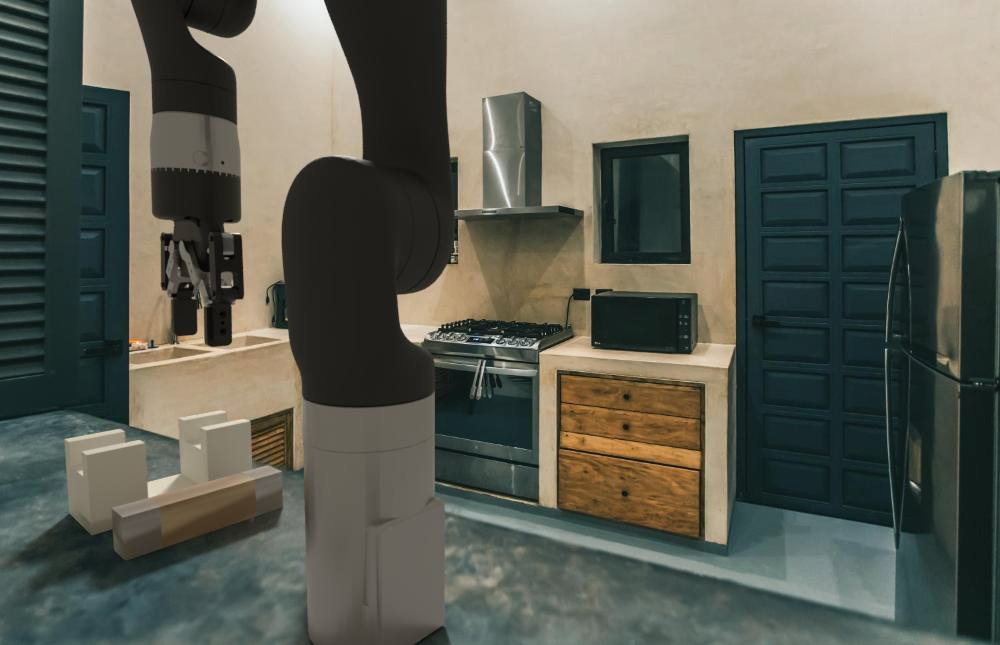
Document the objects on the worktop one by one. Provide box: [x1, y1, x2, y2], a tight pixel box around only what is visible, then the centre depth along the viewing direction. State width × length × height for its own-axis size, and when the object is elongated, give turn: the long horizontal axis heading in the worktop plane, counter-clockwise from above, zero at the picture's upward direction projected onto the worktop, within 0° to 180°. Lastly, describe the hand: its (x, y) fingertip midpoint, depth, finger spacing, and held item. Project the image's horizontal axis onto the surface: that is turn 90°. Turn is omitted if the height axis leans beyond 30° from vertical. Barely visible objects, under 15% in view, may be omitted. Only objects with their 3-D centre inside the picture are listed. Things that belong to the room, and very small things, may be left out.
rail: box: [112, 464, 284, 562], centre depth 57 cm, size 3×15×4 cm, turn 140°
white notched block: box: [63, 409, 253, 536], centre depth 63 cm, size 8×16×8 cm, turn 140°
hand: (200, 340), depth 56 cm, fingers open, 8 cm apart
